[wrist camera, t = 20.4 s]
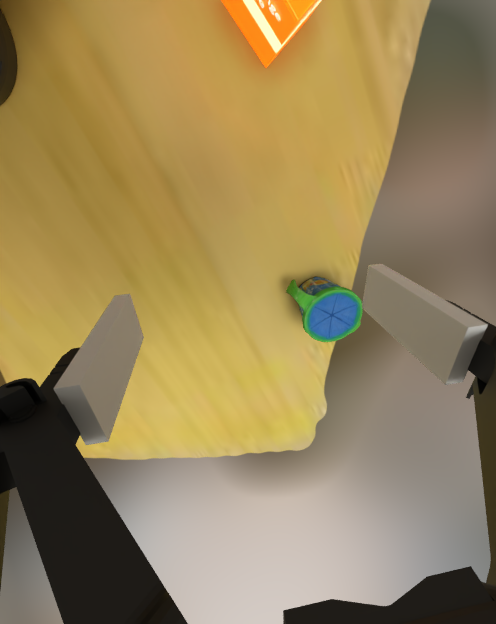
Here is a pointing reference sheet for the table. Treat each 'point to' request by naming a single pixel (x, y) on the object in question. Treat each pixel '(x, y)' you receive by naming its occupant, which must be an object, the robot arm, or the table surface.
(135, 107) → the table surface
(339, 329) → the snack cup
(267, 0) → the orange juice
